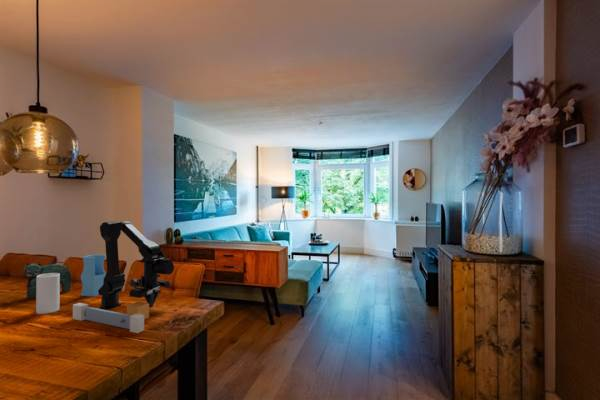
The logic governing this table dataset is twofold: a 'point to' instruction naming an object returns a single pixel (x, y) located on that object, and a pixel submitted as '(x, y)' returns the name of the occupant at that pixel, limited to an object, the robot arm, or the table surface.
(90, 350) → the table surface
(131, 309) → the wedge
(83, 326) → the table surface
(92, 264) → the vase
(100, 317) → the grey end-capped bar
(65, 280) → the ceramic cat
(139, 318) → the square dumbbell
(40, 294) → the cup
